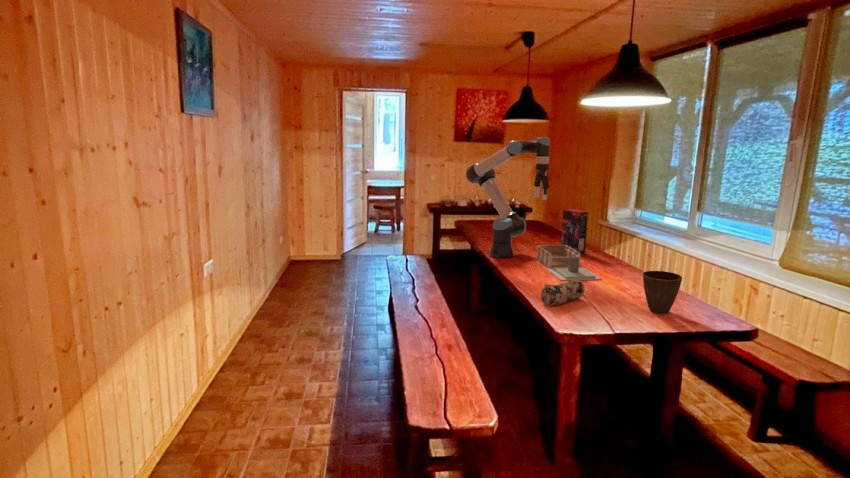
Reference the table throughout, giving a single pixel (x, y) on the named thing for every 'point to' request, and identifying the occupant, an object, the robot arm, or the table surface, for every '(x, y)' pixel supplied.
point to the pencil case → (562, 292)
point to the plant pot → (661, 290)
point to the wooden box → (555, 255)
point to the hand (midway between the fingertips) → (540, 198)
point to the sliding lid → (573, 270)
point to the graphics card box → (574, 229)
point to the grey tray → (572, 279)
